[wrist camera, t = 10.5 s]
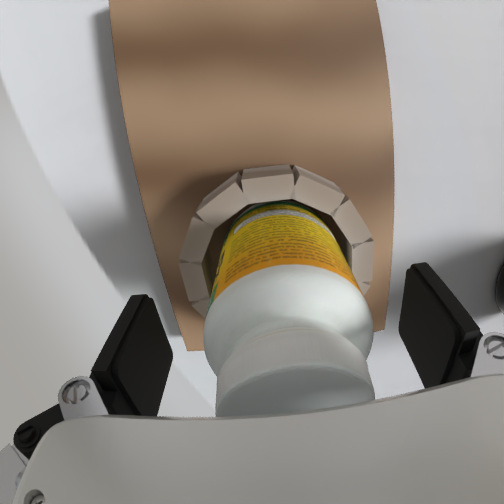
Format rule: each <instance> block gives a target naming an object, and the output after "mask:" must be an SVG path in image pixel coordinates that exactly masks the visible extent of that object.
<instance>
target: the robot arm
mask: <svg viewBox="0 0 504 504" xmlns="http://www.w3.org/2000/svg"><path fill="white" fill-rule="evenodd" d="M399 334H400V336H401V338H402V340H403V342H404V344H405V346H406V349H407V351H408V353H409V355H410V357H411V359H412V361H413V363H414V365H415V368H416V370H417V372H418V374H419V376H420V378H421V381H422V383H423V385H424V387H425V389H422V390H418V391H413V392H409V393H405V394H400V395H396V396H391V397H386V398H382V399H377V400H371V401H366V402H361V403H355V404H349V405H343V406H336V407H329V408H322V409H315V410H307V411H298V412H288V413H277V414H265V415H249V416H228V417H157V414H158V410H159V406H160V403H161V399H162V395H163V392H164V388H165V385H166V381H167V377H168V374H169V370H170V367H171V364H172V360H173V352H172V349H171V346H170V344H169V341H168V339H167V336H166V333H165V331H164V328H163V325H162V323H161V320H160V317H159V314H158V311H157V309H156V306H155V303H154V300H153V299H152V298H149V297H148V295H146V294H141V295H132V296H131V297H130V299H129V301H128V302H127V304H126V306H125V308H124V309H123V311H122V313H121V315H120V317H119V319H118V320H117V322H116V324H115V326H114V328H113V329H112V331H111V333H110V335H109V337H108V339H107V341H106V342H105V344H104V346H103V348H102V350H101V352H100V354H99V356H98V358H97V360H96V362H95V364H94V366H93V368H92V370H91V371H92V373H91V375H90V377H89V378H88V377H84V376H79V377H75V378H72V379H70V380H69V381H67V382H66V383H65V384H64V385H63V386H62V387H61V389H60V390H59V393H58V401H59V404H57V405H55V406H53V407H51V408H50V409H48V410H46V411H44V412H42V413H41V414H39V415H37V416H35V417H33V418H31V419H30V420H28V421H26V422H24V423H23V424H21V425H20V426H19V427H18V428H17V430H16V432H15V434H14V444H13V445H12V446H11V445H10V444H8V445H7V446H6V447H5V448H3V450H1V451H0V504H504V334H502V333H497V332H491V333H487V334H485V335H484V336H483V334H482V333H481V332H480V328H479V327H478V325H477V324H476V323H475V321H474V320H473V319H472V317H471V316H470V315H469V314H468V312H467V311H466V310H465V308H464V307H463V306H462V304H461V303H460V302H459V301H458V299H457V298H456V297H455V296H454V294H453V293H452V292H451V291H450V290H449V288H448V287H447V286H446V285H445V283H444V282H443V281H442V280H441V279H440V277H439V276H438V275H437V274H436V273H435V272H434V270H433V269H432V268H431V267H430V266H429V265H428V264H427V263H426V262H424V263H417V264H412V265H411V267H410V269H407V271H406V278H405V287H404V294H403V302H402V308H401V315H400V321H399Z"/></svg>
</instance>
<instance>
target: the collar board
mask: <svg viewBox="0 0 504 504" xmlns="http://www.w3.org/2000/svg"><path fill="white" fill-rule="evenodd" d="M109 10H110V21H111V30H112V39H113V48H114V55H115V63H116V70H117V77H118V83H119V90H120V96H121V102H122V107H123V113H124V119H125V124H126V129H127V134H128V139H129V144H130V149H131V154H132V159H133V163H134V168H135V172H136V177H137V181H138V185H139V190H140V194H141V198H142V202H143V206H144V210H145V214H146V218H147V222H148V226H149V229H150V233H151V237H152V240H153V244H154V248H155V251H156V255H157V258H158V262H159V265H160V268H161V272H162V275H163V279H164V282H165V285H166V288H167V292H168V295H169V298H170V301H171V304H172V307H173V310H174V313H175V316H176V319H177V322H178V325H179V328H180V331H181V334H182V337H183V340H184V343H185V346H186V348H187V351H202V350H204V343H203V332H204V324H205V319H206V315H207V310H208V306H209V302H210V298H211V294H212V289H213V285H214V280H215V277H216V272H217V267H218V264H219V260H220V255H221V250H222V246H223V243H224V240H225V237H226V234H227V232H228V230H229V228H230V227H231V225H232V224H233V222H234V221H235V220H236V219H237V218H238V216H239V215H240V214H242V213H243V212H244V211H245V210H247V209H248V208H249V207H251V206H253V205H255V204H258V203H261V202H268V201H277V200H289V201H294V202H297V203H300V204H302V205H305V206H307V207H308V208H310V209H312V210H313V211H314V212H316V213H317V214H318V215H319V216H320V217H321V218H322V219H323V220H324V221H325V222H326V224H327V225H328V227H329V228H330V230H331V232H332V234H333V236H334V238H335V240H336V242H337V244H338V245H339V247H340V249H341V251H342V253H343V255H344V257H345V259H346V262H347V263H348V265H349V267H350V269H351V271H352V273H353V275H354V277H355V279H356V281H357V283H358V285H359V288H360V290H361V292H362V294H363V296H364V298H365V300H366V302H367V304H368V307H369V309H370V312H371V316H372V320H373V332H375V331H381V330H384V327H385V320H386V312H387V304H388V295H389V285H390V274H391V261H392V246H393V226H394V145H393V126H392V111H391V99H390V88H389V79H388V71H387V63H386V55H385V48H384V42H383V36H382V30H381V24H380V19H379V13H378V8H377V3H376V0H109Z"/></svg>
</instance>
